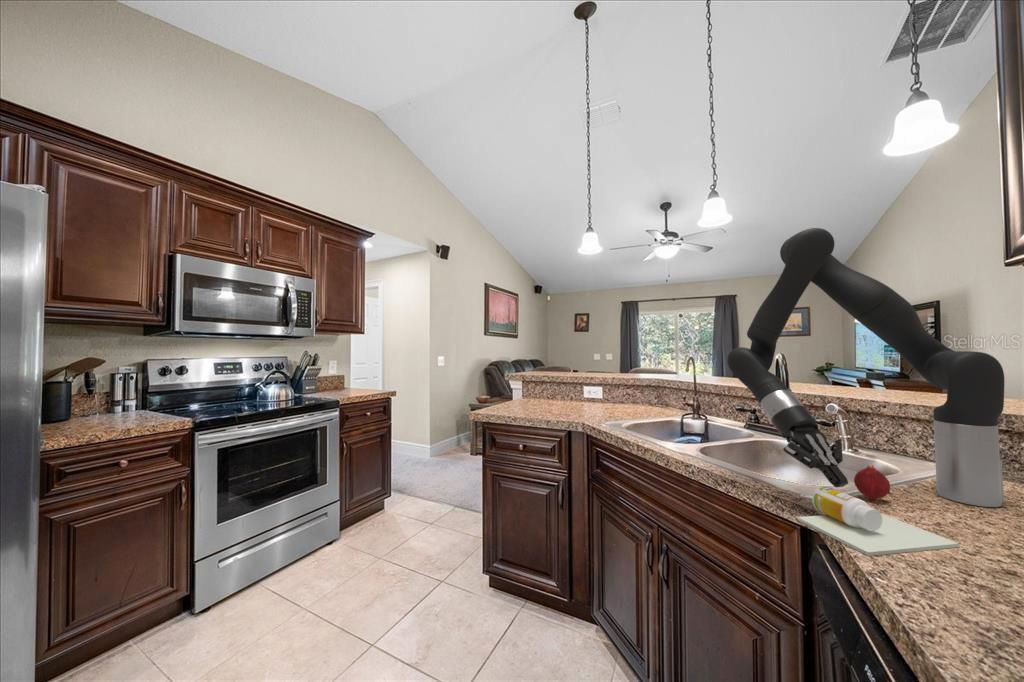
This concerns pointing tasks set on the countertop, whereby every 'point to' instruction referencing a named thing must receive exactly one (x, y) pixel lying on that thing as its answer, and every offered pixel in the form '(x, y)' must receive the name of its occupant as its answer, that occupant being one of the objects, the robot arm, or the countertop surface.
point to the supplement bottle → (846, 508)
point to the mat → (879, 536)
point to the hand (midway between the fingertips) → (842, 485)
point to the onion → (872, 483)
